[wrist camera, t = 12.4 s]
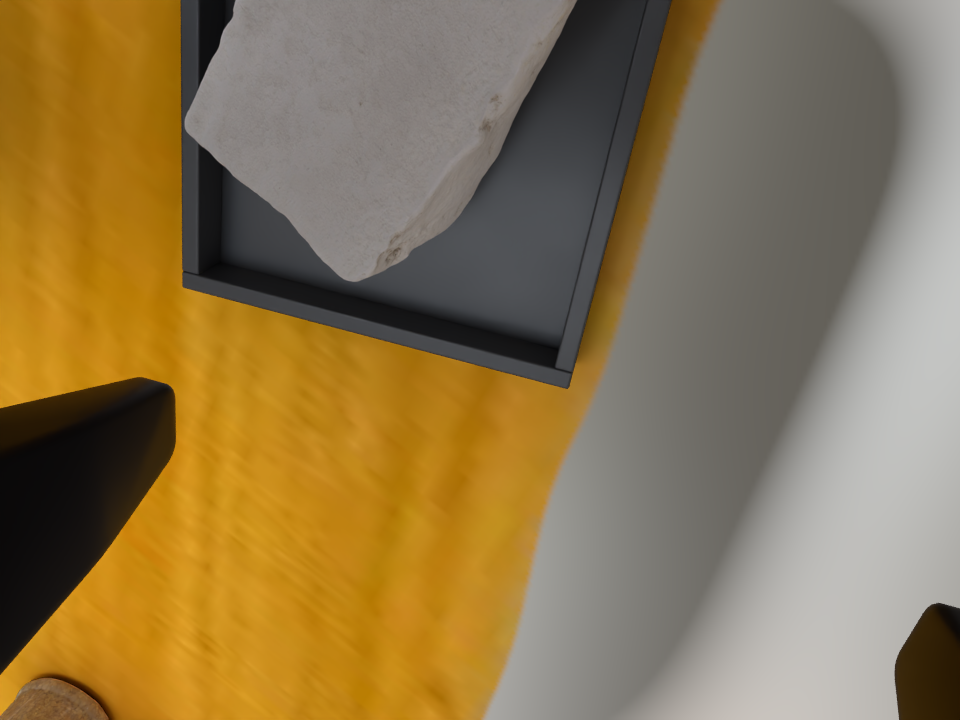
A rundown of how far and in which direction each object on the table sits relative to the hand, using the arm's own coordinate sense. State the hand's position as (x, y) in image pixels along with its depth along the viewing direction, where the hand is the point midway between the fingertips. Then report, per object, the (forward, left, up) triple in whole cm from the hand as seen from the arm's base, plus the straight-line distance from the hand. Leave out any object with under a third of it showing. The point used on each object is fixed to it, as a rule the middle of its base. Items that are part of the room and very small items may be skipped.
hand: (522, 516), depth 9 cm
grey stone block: (-3, +5, -12) cm, 13 cm away
